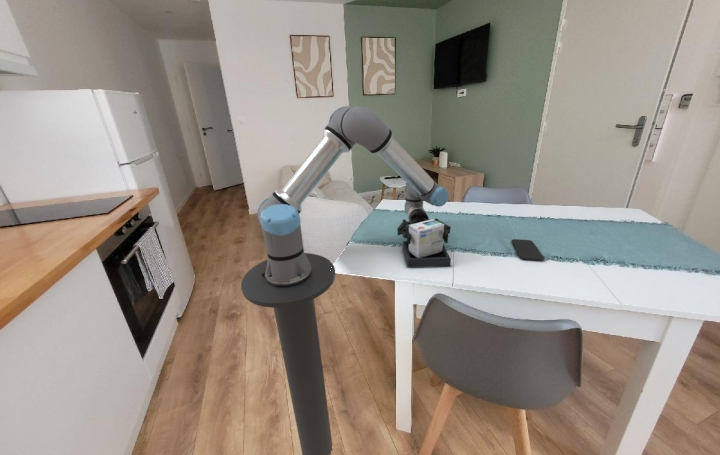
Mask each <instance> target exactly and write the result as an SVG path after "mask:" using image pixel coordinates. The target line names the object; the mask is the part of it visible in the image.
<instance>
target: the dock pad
mask: <svg viewBox="0 0 720 455" xmlns="http://www.w3.org/2000/svg"><path fill="white" fill-rule="evenodd" d="M402 250H403V255H404V260H405V262H406V267H407V268H440V267H441V268H443V267H451V262H452V261H451V260H452V257H451V255H450V254H449V252H448V250H447V249H446V247H445V244H443V248H442V252H439V253H436V254H432V255H429V256H426V257H422V258H417V257H416V256H414V255H413V254H411V253H410V252H409V244H408V242H407V240H403V241H402Z"/></svg>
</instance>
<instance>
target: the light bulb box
mask: <svg viewBox="0 0 720 455" xmlns="http://www.w3.org/2000/svg"><path fill="white" fill-rule="evenodd" d="M408 225H409V224H408ZM409 234H410V237H411V240H410V244H409V252H410V253H411V254H413V255H414V256H416V257H417V258H422V257H426V256H429V255H432V254H436V253H439V252H442V248H443V245H444V240H443V234H444V224H442V223H440V222H438V221H436V220H435V218H434V219H433V218H431V219H430V220H427V221H423V222H419V223H415V224H411V225H409Z"/></svg>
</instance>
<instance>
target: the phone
mask: <svg viewBox="0 0 720 455" xmlns="http://www.w3.org/2000/svg"><path fill="white" fill-rule="evenodd" d="M511 243H512V246H513V247H514V249H515V251H516V253H517V255H518V257H519V258H520V259H521V260H524V261H538V262H543V261H544V258H545V257H544V256H543V255H542V253H541V252H540V250H539V249H538V247H537V245H536V244H535V243H534V241H532V240H531V239H517V238H513V239H511Z"/></svg>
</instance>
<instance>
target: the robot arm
mask: <svg viewBox="0 0 720 455" xmlns="http://www.w3.org/2000/svg"><path fill="white" fill-rule="evenodd" d="M322 132H323V137H322V138H321V139H320V141H319V142H318V143H317V144H316V145H315V147H314V148H313V149H312V151H311V152H310V153H309V154H308V155H307V157H306V158H305V160H304V161H303V162H302V164H300V166H299V167H298V168H297V169H296V171H295V172H294V173H293V175H292V176H291V177H290V178H289V180H288V181H287V182H286V183H285V184H284V186H283V187H282V188H281V189H276V190H274V191H273V192H272V193H271V195H270V196H269V197H266V198H265V199H264V200H262V201H261V202H260V204H259V205H258V207H257V212H256V219H257V222H258V224H259V226H260V229H261V232H262V235H263V239H264V244H265V249H266V255H267V260H268V261H267V267H266V271H265V272H263V273H262V274H261V275H262V276H264V275H265V276H266V281H267V282H268V283H269V284H270V285H272V286H275V287H291V286H295V285H298V284H301V283H303V282H304V281H306V280H307V279H308V278H309V277H310V276H311V274H312V267H311V264H310V262H309V260H308V258H307V257H306V255H305V253H306V252H305V248H304V241H303V234H302V227H301V226H302V225H301V216H300V214H301V212H302V209H303V208H302V205H303V203H304V202H305V201H306V200H307V198H308V197H309V195H310V194H311V193H312V192H313V190H314V189H315V188H316V187H317V186H318V185H319V183H320V182H321V180H322V179H323V178H324V177H325V175H326V174H327V173H328V172H329V171H330V169H331V168H332V167H333V165H334V164H335V163H336V161H337V160H338V159H339V158H340V156H342V154H343V153H349V152H350V151H351V150H352V148H354V146H355V145H356V144H358V145H360V146H362V147H364V148H365V149H366V150H368V151H369V152H370V153H371V154H372V155H377V156H379V157H380V159H382V160H383V161H384V162H385V163H386V165H388V167H390V168H391V169H392V170H393V171H394V172H395V173H396V174H397V175H398V176H399V177H400V178H401V179H402V180H403V181H404V182H405V202H404V212H405V213H406V216H407V219H408V220H406V219H405V218H403V219H402V222H401V223H400V224H399V226H398V227H397V229H396V230H397V231H396V233H397V236H401V235H402V238H403V239H406V241H407V242H408V244H410V240H411V237H410V234H409V225H411V224H415V223H419V222H423V221H427V220H431V219H430V218H429V216H428V214H427V213H426V210H425V209H424V202H425V203H427V204H429V205H431V206H434V207H437V208H439V207H443V206H445V205H446V203H447V202H448V200H449V197H450V194H449V190H448V189H447V188H445V187H443V186H441V185H439V184H438V183H437V182H436V181H435V180H434V179H433V178H432V177H431V176H430V175H429V173H427V172H426V171H425V170H424V169H423V167H422V166H421V165H420V164H419V163H418V162H417V161H416V160H415V158H413V157H412V156H411V154H409V152H408V151H407V150H405V148H404V147H403V146H402V145H401V144H400V143H399V142H398V141H397V140H396V139H395V137H394V136H393V135H394V134H393V131H392V129H391V128H389V126H388V125H387V124H386V123H385V122H384V121H383V120H382V119H381V118H380V117H379V116H378V115H377V114H376V113H375V112H374V111H372V110H371V109H370V108H368V107H365V106H362V105H361V106H360V105H357V106H350V105H345V106H340V107H339V108H337V109H335V110H334V111H333V112H332V113H331V114H330V116H329V119H328V124H326V126H325V127H324V129H323V131H322ZM434 220H436V221H438V222H440V223H442V224H444V234H443V242H444V243H445V244H448V243H449V234H451V230H452V227H451V226H450V225H448V224H446V223H445V222H443V221H441V220H439V219H438V218H436V217H435V218H434Z"/></svg>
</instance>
